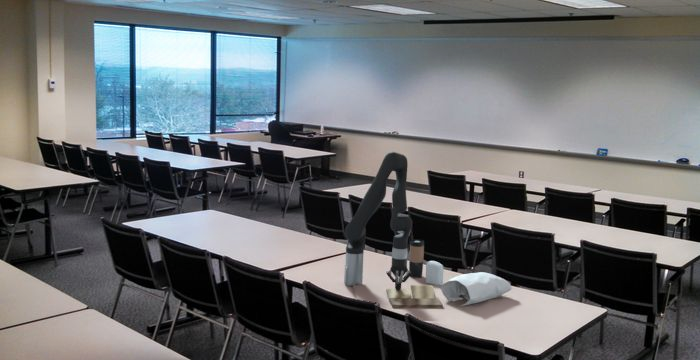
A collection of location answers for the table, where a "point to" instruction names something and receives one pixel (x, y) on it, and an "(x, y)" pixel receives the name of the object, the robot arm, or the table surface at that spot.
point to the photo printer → (434, 273)
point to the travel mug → (416, 258)
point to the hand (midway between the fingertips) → (398, 290)
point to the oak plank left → (398, 293)
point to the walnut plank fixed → (415, 303)
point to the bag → (474, 287)
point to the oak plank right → (423, 291)
